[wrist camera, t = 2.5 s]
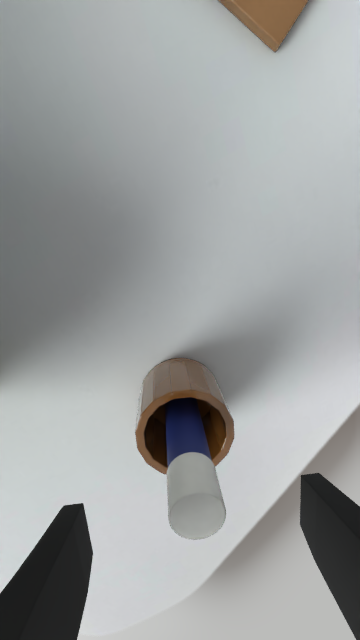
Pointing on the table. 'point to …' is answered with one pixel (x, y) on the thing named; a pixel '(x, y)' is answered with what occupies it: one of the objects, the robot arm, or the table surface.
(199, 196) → the table surface
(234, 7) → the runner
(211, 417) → the cup
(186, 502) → the marker
